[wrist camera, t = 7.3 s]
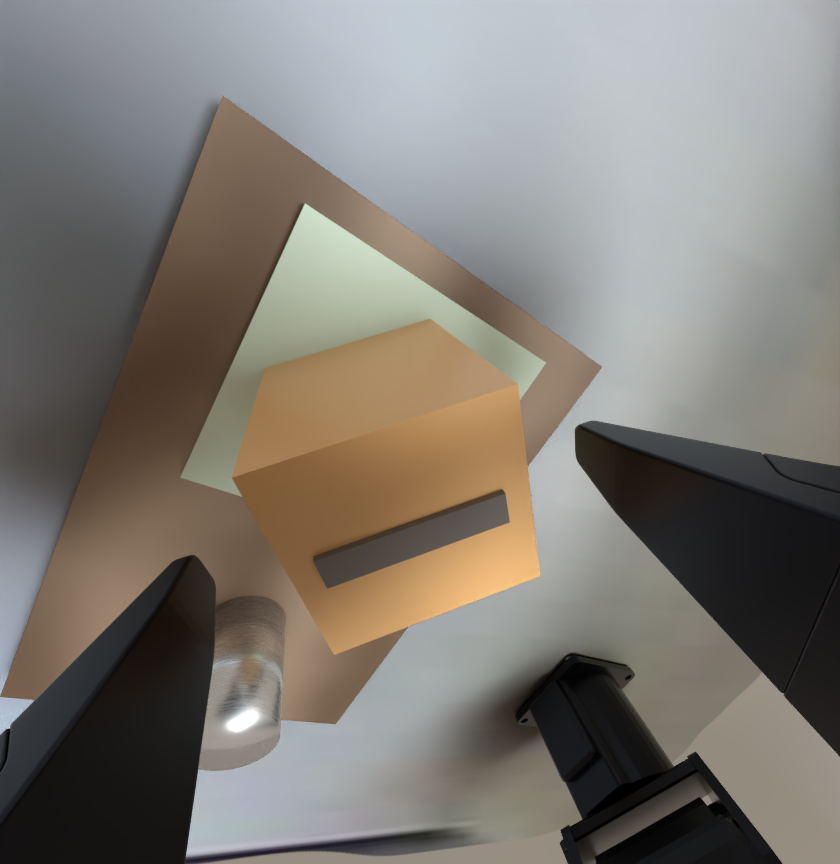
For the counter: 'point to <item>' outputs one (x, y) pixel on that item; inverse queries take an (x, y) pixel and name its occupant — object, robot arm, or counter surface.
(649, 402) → the counter surface
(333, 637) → the box
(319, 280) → the pad
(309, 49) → the counter surface
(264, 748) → the clear cylinder
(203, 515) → the board
